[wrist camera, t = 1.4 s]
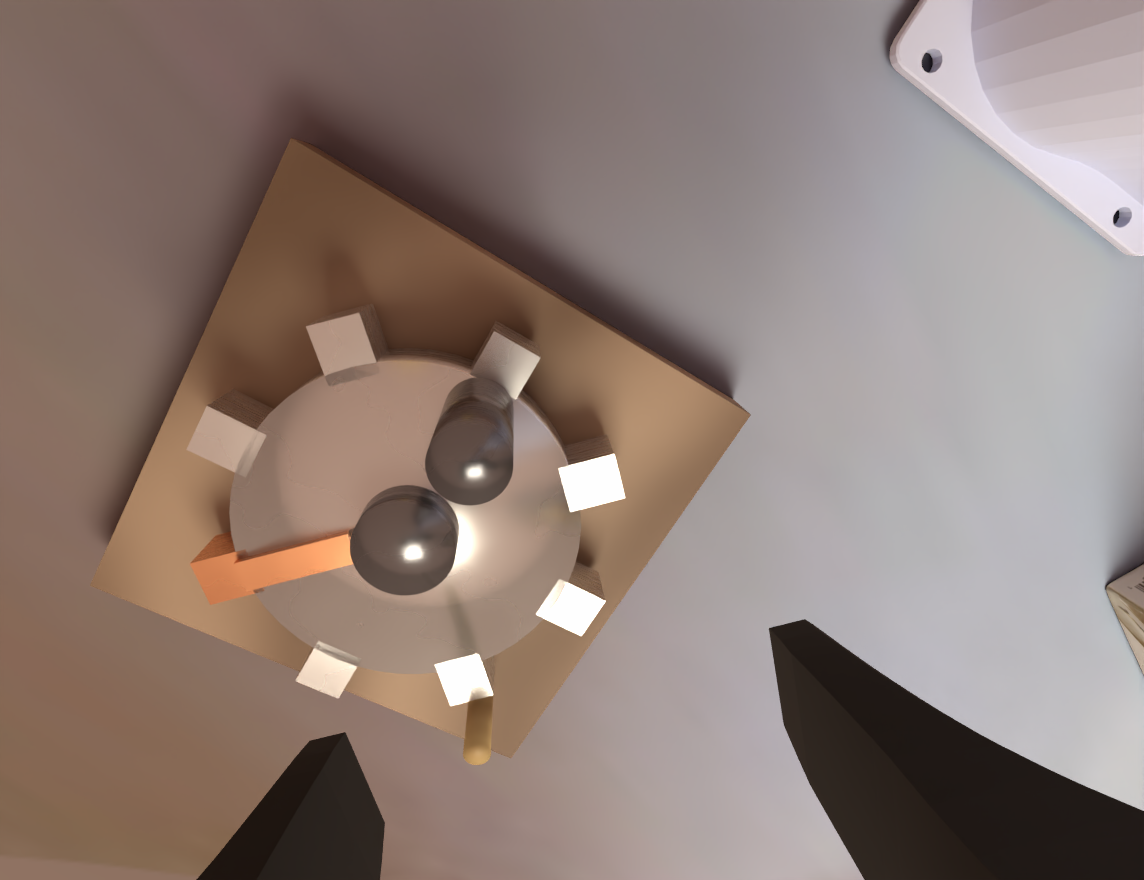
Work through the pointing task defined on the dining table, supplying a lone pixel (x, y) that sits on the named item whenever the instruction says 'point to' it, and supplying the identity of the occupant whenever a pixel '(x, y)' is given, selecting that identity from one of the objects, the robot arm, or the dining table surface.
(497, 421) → the sprocket
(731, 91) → the dining table surface
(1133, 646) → the coffee box
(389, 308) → the index board
